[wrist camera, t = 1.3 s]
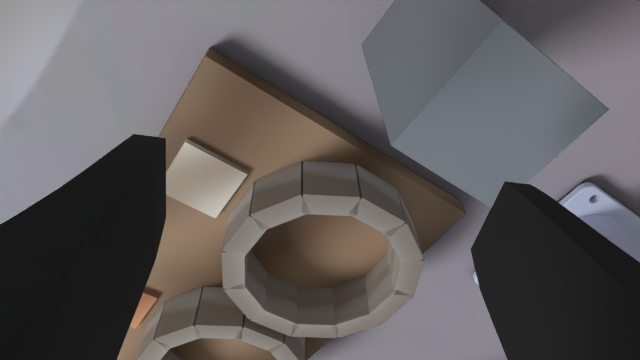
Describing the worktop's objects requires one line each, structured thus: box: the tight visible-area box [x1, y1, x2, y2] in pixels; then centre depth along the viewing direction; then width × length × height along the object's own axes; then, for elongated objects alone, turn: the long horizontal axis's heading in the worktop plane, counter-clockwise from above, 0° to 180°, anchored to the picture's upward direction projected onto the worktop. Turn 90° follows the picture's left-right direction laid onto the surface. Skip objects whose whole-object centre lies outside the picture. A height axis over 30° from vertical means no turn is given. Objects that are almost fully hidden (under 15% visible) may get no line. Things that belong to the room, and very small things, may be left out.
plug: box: [361, 0, 609, 208], centre depth 16 cm, size 4×4×8 cm
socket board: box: [117, 48, 466, 360], centre depth 25 cm, size 14×20×4 cm
